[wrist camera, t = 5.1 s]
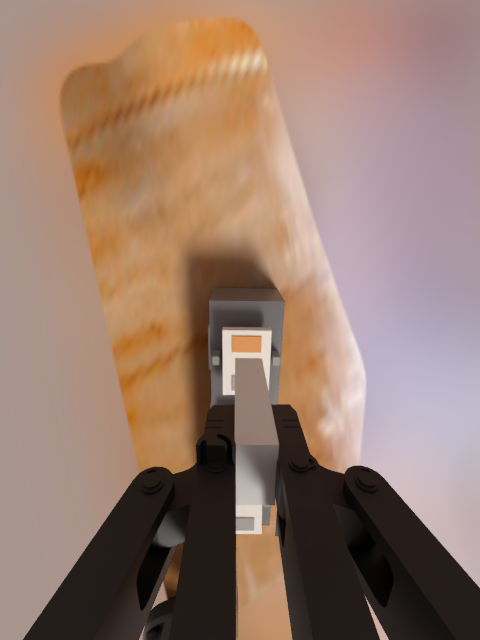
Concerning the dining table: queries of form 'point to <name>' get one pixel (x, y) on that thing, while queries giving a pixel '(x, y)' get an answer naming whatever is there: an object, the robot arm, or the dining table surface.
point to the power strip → (244, 312)
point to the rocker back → (248, 519)
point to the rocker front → (244, 351)
